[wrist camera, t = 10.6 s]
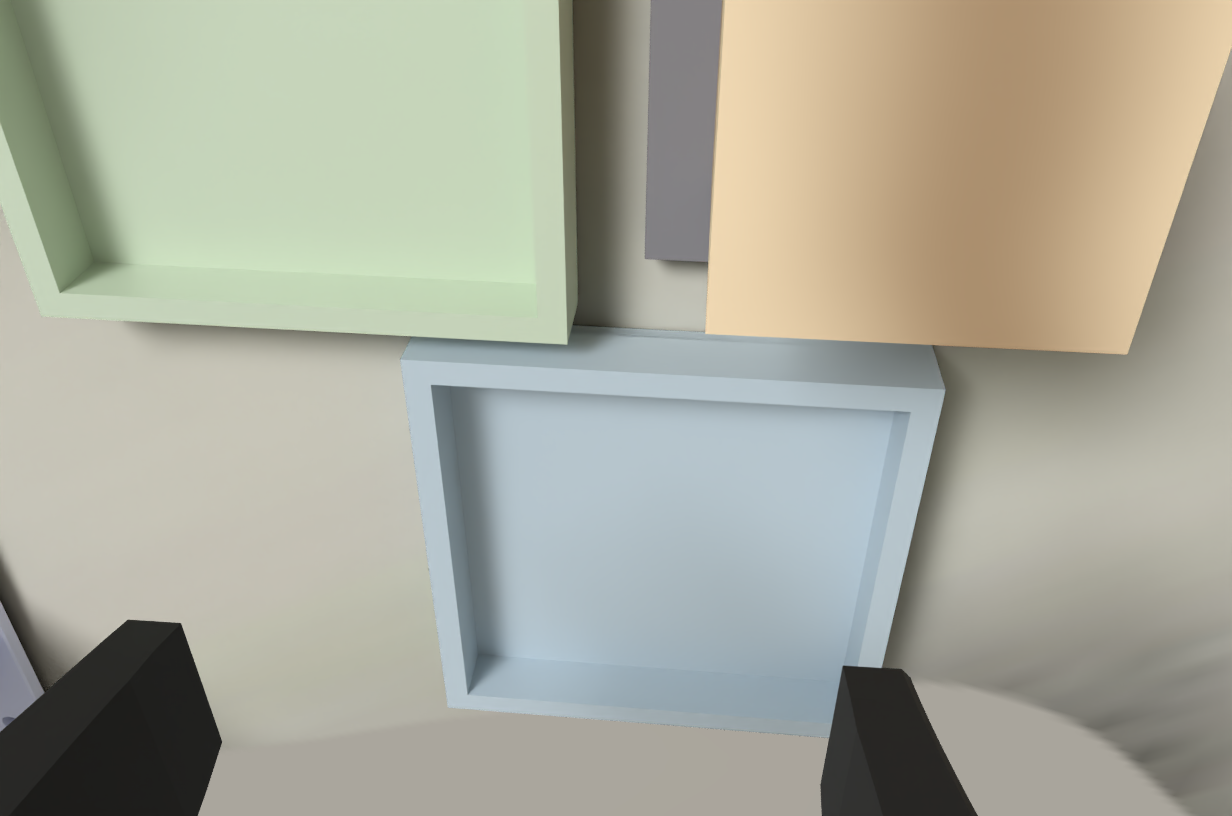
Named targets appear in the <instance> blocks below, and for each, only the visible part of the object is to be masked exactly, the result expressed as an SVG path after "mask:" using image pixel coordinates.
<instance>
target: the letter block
mask: <svg viewBox="0 0 1232 816" xmlns="http://www.w3.org/2000/svg"><path fill="white" fill-rule="evenodd" d="M1231 48H1232V0H722V10H721V27H720V45H719V62H718V79H717V96H716V114H715V131H714V148H713V165H712V185H711V209H710V233H709V257H708V281H707V305H706V329H705V334H716V335H737V336H757V337H778V338H798V339H819V340H839V341H860V342H881V343H901V344H922V345H942V346H963V347H983V348H1004V349H1025V350H1045V351H1066V352H1086V353H1107V354H1128V351H1129V348H1130V345H1131V342H1132V339H1133V336H1134V333H1135V330H1136V327H1137V324H1138V321H1139V318H1140V315H1141V313H1142V310H1143V307H1144V304H1145V301H1146V298H1147V295H1148V292H1149V289H1150V286H1151V283H1152V280H1153V277H1154V274H1155V271H1156V268H1157V265H1158V263H1159V260H1160V257H1161V254H1162V251H1163V248H1164V245H1165V242H1166V239H1167V236H1168V233H1169V230H1170V227H1171V224H1172V221H1173V218H1174V215H1175V213H1176V210H1177V207H1178V204H1179V201H1180V198H1181V195H1182V192H1183V189H1184V186H1185V183H1186V180H1187V177H1188V174H1189V171H1190V168H1191V165H1192V163H1193V160H1194V157H1195V154H1196V151H1197V148H1198V145H1199V142H1200V139H1201V136H1202V133H1203V130H1204V127H1205V124H1206V121H1207V118H1208V116H1209V113H1210V110H1211V107H1212V104H1213V101H1214V98H1215V95H1216V92H1217V89H1218V86H1219V83H1220V80H1221V77H1222V74H1223V71H1224V68H1225V66H1226V63H1227V60H1228V57H1229V54H1230V51H1231Z"/></svg>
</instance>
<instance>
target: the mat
mask: <svg viewBox="0 0 1232 816" xmlns="http://www.w3.org/2000/svg"><path fill="white" fill-rule="evenodd" d="M721 10H722V0H651V20H650V62H649V104H648V146H647V188H646V230H645V259H655V260H676V261H698V262H708V257H709V233H710V209H711V185H712V165H713V148H714V131H715V114H716V96H717V79H718V62H719V45H720V27H721Z"/></svg>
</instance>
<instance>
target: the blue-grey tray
mask: <svg viewBox="0 0 1232 816" xmlns="http://www.w3.org/2000/svg"><path fill="white" fill-rule="evenodd" d="M400 362H401V369H402V376H403V383H404V391H405V398H406V405H407V413H408V420H409V427H410V434H411V442H412V449H413V456H414V464H415V471H416V478H417V485H418V493H419V500H420V507H421V515H422V522H423V529H424V536H425V544H426V551H427V558H428V566H429V573H430V580H431V587H432V595H433V602H434V609H435V617H436V624H437V631H438V638H439V646H440V653H441V660H442V668H443V675H444V682H445V689H446V697H447V704H448V708H461V709H473V710H486V711H498V712H511V713H523V714H536V715H549V716H561V717H575V718H587V719H598V720H610V721H624V722H636V723H648V724H661V725H673V726H685V727H698V728H710V729H723V730H735V731H749V732H760V733H773V734H785V735H798V736H810V737H823V738H829V737H830V731H831V726H832V720H833V715H834V710H835V704H836V699H837V693H838V688H839V683H840V677H841V672H842V667H843V665H844V666H859V667H875V668H882V664H883V660H884V656H885V651H886V647H887V643H888V638H889V634H890V630H891V625H892V621H893V617H894V612H895V608H896V604H897V599H898V595H899V591H900V586H901V582H902V578H903V573H904V569H905V565H906V560H907V556H908V552H909V547H910V543H911V539H912V534H913V530H914V525H915V521H916V517H917V512H918V508H919V504H920V499H921V495H922V491H923V486H924V482H925V478H926V473H927V469H928V465H929V460H930V456H931V452H932V447H933V443H934V439H935V434H936V430H937V426H938V421H939V417H940V413H941V408H942V404H943V400H944V395H945V391H946V389H945V386H944V382H943V379H942V376H941V373H940V369H939V366H938V363H937V360H936V356H935V353H934V350H933V346H932V345H922V344H901V343H881V342H860V341H839V340H819V339H798V338H778V337H757V336H737V335H716V334H705V332H691V331H672V330H653V329H633V328H614V327H595V326H576V325H572V328H571V332H570V336H569V340H568V344H567V345H565V344H547V343H528V342H509V341H491V340H472V339H453V338H434V337H416V336H412V337H411V339H410V341H409V343H408V345H407V347H406V349H405V351H404V353H403V355H402V357H401V359H400Z"/></svg>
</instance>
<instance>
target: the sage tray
mask: <svg viewBox="0 0 1232 816" xmlns="http://www.w3.org/2000/svg"><path fill="white" fill-rule="evenodd" d="M0 204H1V207H2V210H3V212H4V215H5V218H6V220H7V223H8V226H9V229H10V231H11V234H12V237H13V240H14V242H15V245H16V248H17V251H18V253H19V256H20V259H21V262H22V264H23V267H24V270H25V272H26V275H27V278H28V281H29V283H30V286H31V289H32V292H33V294H34V297H35V300H36V303H37V305H38V308H39V311H40V314H41V316H42V317H60V318H79V319H98V320H116V321H135V322H154V323H172V324H191V325H210V326H229V327H247V328H266V329H285V330H303V331H322V332H341V333H360V334H378V335H397V336H416V337H434V338H453V339H472V340H491V341H509V342H528V343H547V344H565V345H567V344H568V340H569V336H570V332H571V328H572V324H573V320H574V316H575V312H576V308H577V304H578V274H577V219H576V165H575V110H574V55H573V1H572V0H0Z"/></svg>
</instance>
